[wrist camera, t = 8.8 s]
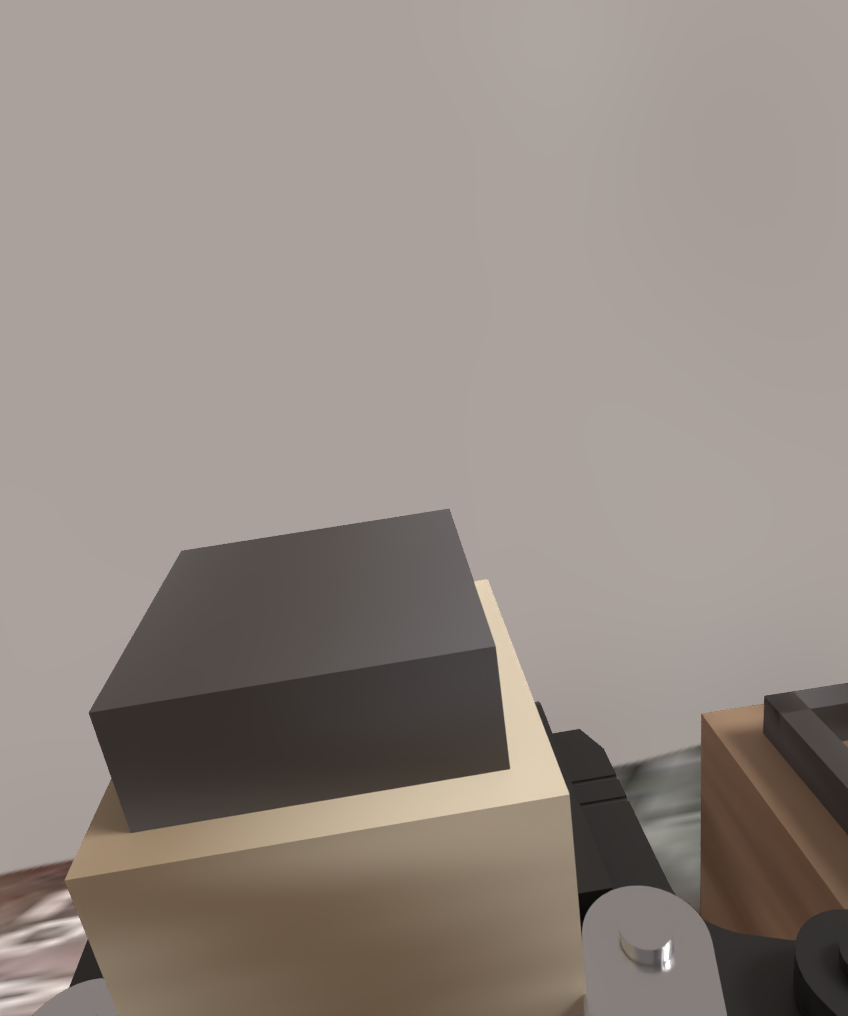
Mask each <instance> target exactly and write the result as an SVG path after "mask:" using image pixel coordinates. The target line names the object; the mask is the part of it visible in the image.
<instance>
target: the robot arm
mask: <svg viewBox="0 0 848 1016" xmlns="http://www.w3.org/2000/svg"><path fill="white" fill-rule="evenodd" d="M534 703H535V705H536V708H537V710H538V713H539V716H540V718H541V721H542V724H543V726H544V729H545V731H546V734H547V737H548V739H549V742H550V745H551V747H552V750H553V752H554V755H555V758H556V760H557V763H558V766H559V768H560V771H561V773H562V776H563V779H564V781H565V784H566V787H567V789H568V792H569V794H570V806H571V818H572V830H573V842H574V854H575V865H576V877H577V889H578V901H579V913H580V924H581V936H582V948H583V960H584V972H585V983H586V994H583V999H584V1016H848V909H837V910H829V911H825V912H821V913H819V914H817V915H815V916H813V917H811V918H810V919H809V920H807V921H806V922H805V923H804V924H803V926H802V927H801V928H800V930H799V932H798V935H797V937H796V941H794V940H787V939H779V938H771V937H763V936H755V935H748V934H742V933H737V932H733V931H730V930H726V929H723V928H721V927H718V926H716V925H714V924H712V923H709V922H708V921H706V920H704V919H703V918H701V917H700V915H699V914H698V913H697V912H696V911H695V910H694V909H693V908H692V907H691V906H690V905H689V904H687V903H686V902H685V901H683V900H682V899H681V898H679V897H677V896H676V895H675V893H674V892H673V890H672V889H671V887H670V885H669V884H668V881H667V879H666V877H665V875H664V873H663V871H662V869H661V867H660V865H659V863H658V861H657V859H656V857H655V854H654V852H653V850H652V848H651V846H650V844H649V842H648V840H647V838H646V836H645V834H644V832H643V830H642V827H641V825H640V823H639V821H638V819H637V817H636V815H635V813H634V811H633V809H632V807H631V805H630V803H629V801H627V798H626V794H625V792H624V790H623V788H622V786H621V784H620V782H619V780H617V778H616V773H615V771H614V769H613V767H612V765H611V763H610V761H609V759H608V757H607V755H606V753H605V751H604V749H603V748H602V747H601V746H600V745H598V744H597V743H596V742H595V741H594V740H592V739H591V738H590V737H589V736H588V735H586V734H585V733H584V732H582V731H581V730H580V729H577V730H571V731H565V732H559V733H553V734H552V732H551V729H550V726H549V724H548V721H547V719H546V716H545V714H544V711H543V708H542V706H541V704H540V703H539V702H534ZM32 1016H119V1015H118V1013H117V1010H116V1008H115V1005H114V1003H113V1000H112V998H111V995H110V993H109V990H108V988H107V985H106V983H105V980H104V978H103V975H102V973H101V970H100V968H99V965H98V963H97V960H96V958H95V955H94V953H93V950H92V948H91V945H90V943H89V940H87V943H86V945H85V948H84V951H83V953H82V956H81V958H80V961H79V964H78V966H77V969H76V971H75V974H74V976H73V979H72V982H71V984H70V987H69V988H68V989H66V990H64V991H62V992H61V993H59V994H57V995H56V996H54V997H53V998H52V999H50V1000H49V1001H48V1002H46V1003H45V1004H44V1005H43V1006H42V1007H40V1008H39V1009H38V1010H37V1011H36V1012H35V1013H34V1014H33V1015H32Z"/></svg>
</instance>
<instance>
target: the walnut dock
mask: <svg viewBox="0 0 848 1016" xmlns="http://www.w3.org/2000/svg"><path fill="white" fill-rule="evenodd" d="M701 716H702V717H701V718H702V719H701V720H702V721H701V894H700V917H701V918H703V919H704V920H706V921H708V922H709V923H712V924H714V925H716V926H718V927H721V928H723V929H726V930H730V931H733V932H737V933H742V934H748V935H755V936H763V937H771V938H779V939H787V940H794V941H796V937H797V935H798V932H799V930H800V928H801V927H802V926H803V924H804V923H805V922H806V921H807V920H809V919H810V918H811V917H813V916H815V915H817V914H819V913H821V912H825V911H829V910H837V909H848V683H844V684H838V685H831V686H825V687H819V688H812V689H806V690H799V691H793V692H787V693H781V694H774V695H767V696H765V697H764V704H760V705H754V706H747V707H741V708H735V709H729V710H722V711H716V712H709V713H703V714H701Z"/></svg>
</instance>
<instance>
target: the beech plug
mask: <svg viewBox="0 0 848 1016" xmlns="http://www.w3.org/2000/svg"><path fill="white" fill-rule="evenodd" d="M89 715H90V718H91V721H92V724H93V726H94V729H95V732H96V735H97V738H98V741H99V744H100V746H101V749H102V752H103V755H104V758H105V761H106V763H107V766H108V769H109V772H110V775H111V777H112V779H111V781H110V783H109V786H108V787H107V789H106V792H105V794H104V796H103V798H102V800H101V802H100V805H99V807H98V809H97V811H96V813H95V815H94V818H93V820H92V822H91V824H90V826H89V828H88V831H87V833H86V835H85V837H84V839H83V841H82V844H81V846H80V848H79V850H78V852H77V855H76V857H75V859H74V861H73V863H72V865H71V868H70V870H69V872H68V874H67V876H66V878H65V883H66V885H67V888H68V890H69V893H70V895H71V898H72V900H73V903H74V905H75V908H76V910H77V913H78V915H79V918H80V920H81V923H82V925H83V928H84V930H85V933H86V935H87V938H88V940H89V943H90V945H91V948H92V950H93V953H94V955H95V958H96V960H97V963H98V965H99V968H100V970H101V973H102V975H103V978H104V980H105V983H106V985H107V988H108V990H109V993H110V995H111V998H112V1000H113V1003H114V1005H115V1008H116V1010H117V1013H118V1015H119V1016H584V999H583V994H586V983H585V972H584V960H583V948H582V936H581V924H580V913H579V901H578V889H577V877H576V865H575V854H574V842H573V830H572V818H571V806H570V794H569V792H568V789H567V787H566V784H565V781H564V779H563V776H562V773H561V771H560V768H559V766H558V763H557V760H556V758H555V755H554V752H553V750H552V747H551V745H550V742H549V739H548V737H547V734H546V731H545V729H544V726H543V724H542V721H541V718H540V716H539V713H538V710H537V708H536V705H535V703H534V700H533V697H532V695H531V692H530V689H529V687H528V684H527V682H526V679H525V676H524V674H523V671H522V669H521V666H520V663H519V661H518V658H517V655H516V653H515V650H514V647H513V645H512V642H511V640H510V637H509V634H508V632H507V629H506V627H505V624H504V621H503V619H502V616H501V613H500V611H499V609H498V605H497V603H496V600H495V598H494V595H493V593H492V590H491V587H490V585H489V582H488V580H480V581H474V580H473V578H472V574H471V572H470V568H469V565H468V562H467V560H466V557H465V554H464V551H463V548H462V545H461V542H460V539H459V536H458V533H457V530H456V527H455V524H454V521H453V518H452V515H451V512H450V509H445V510H438V511H432V512H425V513H419V514H413V515H407V516H400V517H394V518H388V519H381V520H375V521H368V522H362V523H356V524H349V525H343V526H337V527H330V528H324V529H318V530H312V531H305V532H298V533H292V534H286V535H279V536H273V537H267V538H260V539H254V540H248V541H241V542H235V543H228V544H223V545H216V546H210V547H203V548H197V549H190V550H184V551H181V553H180V554H179V556H178V558H177V560H176V561H175V563H174V565H173V567H172V568H171V570H170V572H169V574H168V575H167V577H166V579H165V580H164V582H163V584H162V586H161V588H160V589H159V591H158V593H157V594H156V596H155V598H154V600H153V602H152V603H151V605H150V607H149V608H148V610H147V612H146V614H145V615H144V617H143V619H142V621H141V622H140V624H139V626H138V628H137V629H136V631H135V633H134V635H133V636H132V638H131V640H130V642H129V643H128V645H127V647H126V649H125V650H124V652H123V654H122V656H121V657H120V659H119V661H118V662H117V664H116V666H115V668H114V669H113V671H112V673H111V675H110V676H109V678H108V680H107V682H106V683H105V685H104V687H103V689H102V690H101V692H100V694H99V696H98V697H97V699H96V701H95V703H94V704H93V706H92V708H91V710H90V711H89Z"/></svg>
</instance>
